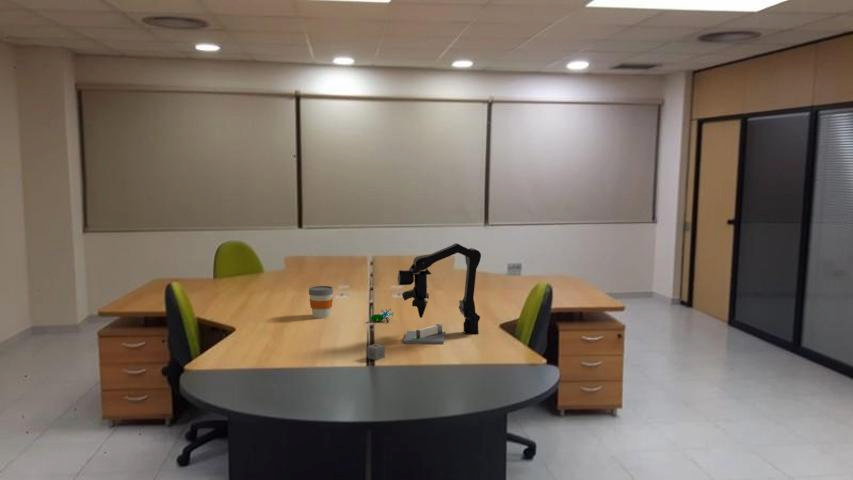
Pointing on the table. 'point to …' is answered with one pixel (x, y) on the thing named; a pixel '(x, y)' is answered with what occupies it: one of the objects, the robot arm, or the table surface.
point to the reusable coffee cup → (321, 301)
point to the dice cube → (376, 351)
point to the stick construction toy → (381, 316)
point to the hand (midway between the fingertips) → (420, 317)
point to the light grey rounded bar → (429, 331)
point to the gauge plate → (424, 338)
